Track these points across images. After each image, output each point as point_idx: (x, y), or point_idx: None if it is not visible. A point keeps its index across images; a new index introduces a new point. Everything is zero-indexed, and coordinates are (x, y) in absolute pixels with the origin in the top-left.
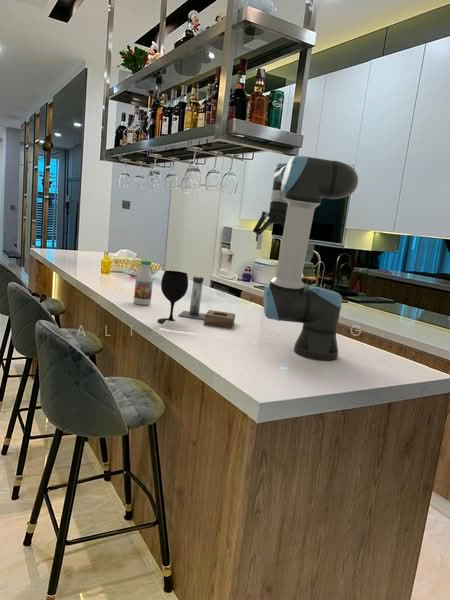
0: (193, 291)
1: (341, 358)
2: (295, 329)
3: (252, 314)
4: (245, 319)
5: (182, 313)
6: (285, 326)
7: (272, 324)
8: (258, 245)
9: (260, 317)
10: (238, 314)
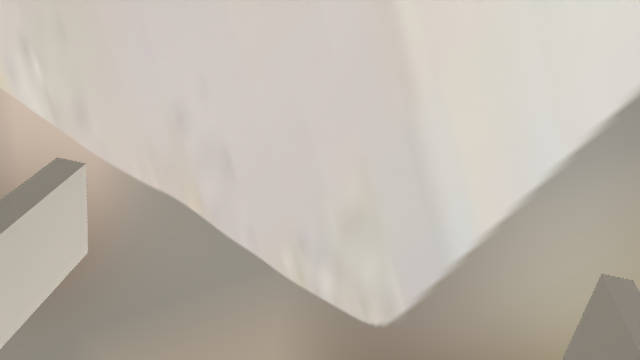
0: None
1: None
2: (190, 28)
3: (494, 210)
4: (497, 30)
5: None
6: (255, 56)
7: (326, 40)
8: (623, 327)
9: (434, 169)
10: (569, 137)
